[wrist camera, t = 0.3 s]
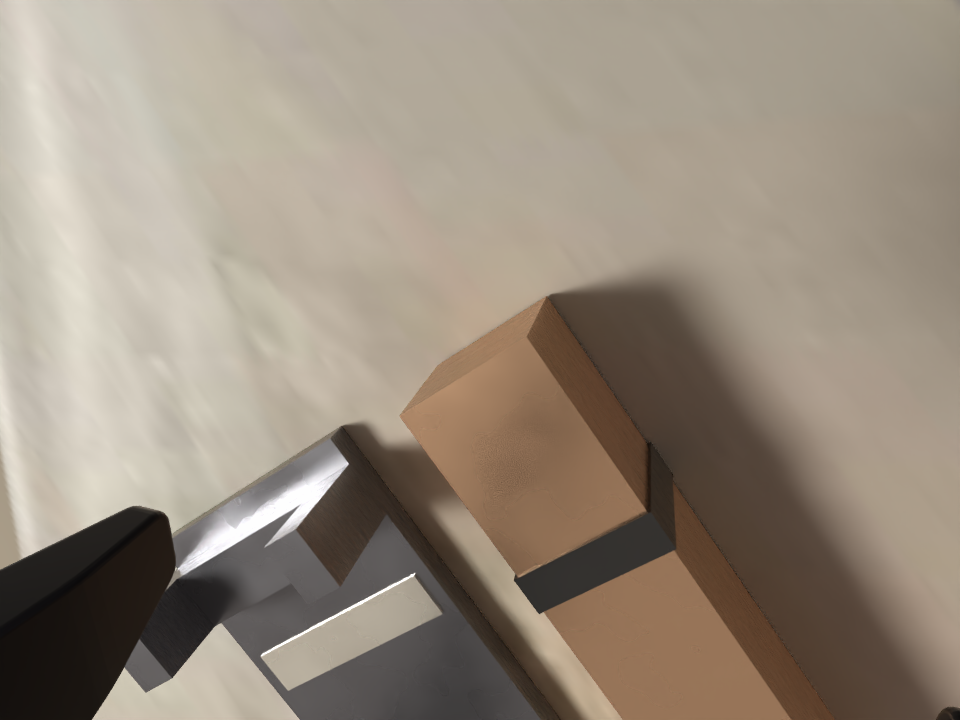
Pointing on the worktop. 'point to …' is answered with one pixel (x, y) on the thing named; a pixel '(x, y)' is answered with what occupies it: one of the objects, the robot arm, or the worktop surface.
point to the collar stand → (334, 602)
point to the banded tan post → (601, 530)
